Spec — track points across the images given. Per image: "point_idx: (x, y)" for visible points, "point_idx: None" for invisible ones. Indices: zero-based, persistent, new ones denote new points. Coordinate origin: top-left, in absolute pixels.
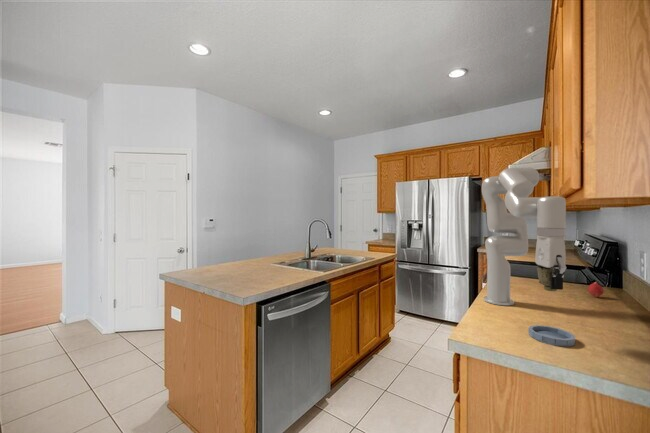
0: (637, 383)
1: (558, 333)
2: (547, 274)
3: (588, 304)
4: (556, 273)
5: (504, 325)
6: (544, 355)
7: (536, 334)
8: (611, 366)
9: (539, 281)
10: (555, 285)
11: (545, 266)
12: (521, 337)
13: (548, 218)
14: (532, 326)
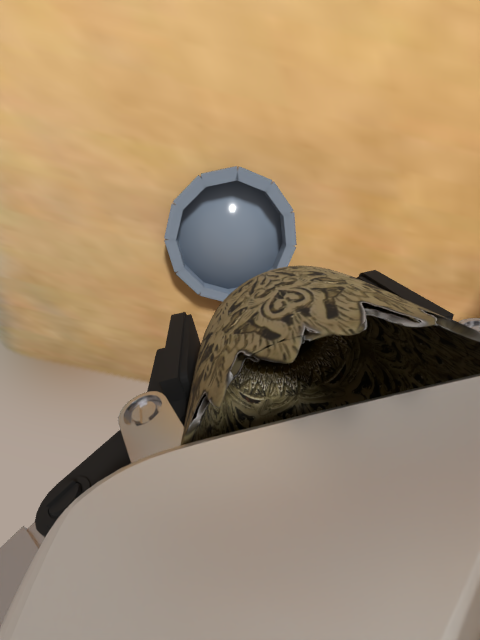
0: (28, 348)
1: (266, 267)
2: (198, 367)
3: None
4: (105, 460)
5: (309, 76)
6: (45, 177)
7: (189, 185)
8: (97, 329)
9: (374, 274)
10: (156, 353)
11: (175, 455)
12: (188, 128)
13: None
14: (268, 188)
